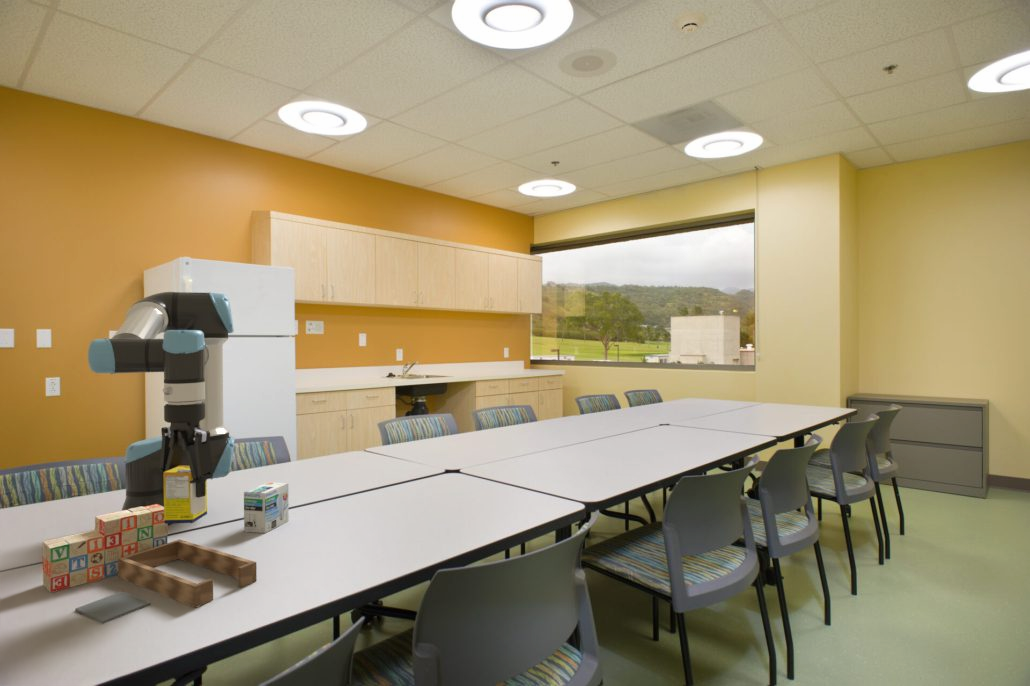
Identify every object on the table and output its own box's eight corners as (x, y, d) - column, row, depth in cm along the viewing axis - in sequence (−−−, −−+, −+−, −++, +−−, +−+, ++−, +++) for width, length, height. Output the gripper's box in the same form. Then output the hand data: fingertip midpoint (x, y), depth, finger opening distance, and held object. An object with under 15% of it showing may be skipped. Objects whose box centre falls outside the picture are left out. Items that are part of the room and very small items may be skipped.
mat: (75, 610, 104) (75, 608, 104) (122, 593, 111) (122, 591, 111) (102, 623, 99) (102, 621, 99) (149, 604, 106) (149, 602, 106)
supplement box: (207, 514, 120) (207, 464, 120) (192, 523, 114) (191, 471, 114) (180, 514, 120) (179, 464, 120) (163, 524, 114) (162, 471, 114)
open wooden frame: (118, 577, 118) (117, 558, 118) (179, 556, 130) (179, 539, 130) (195, 607, 105) (195, 586, 105) (256, 581, 116) (256, 562, 116)
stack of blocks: (49, 594, 111) (49, 533, 111) (42, 585, 115) (41, 526, 115) (168, 560, 128) (167, 507, 127) (158, 553, 131) (157, 502, 131)
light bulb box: (265, 534, 144) (264, 493, 144) (242, 532, 146) (242, 491, 145) (289, 520, 155) (289, 482, 155) (268, 519, 156) (268, 481, 156)
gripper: (139, 401, 118) (140, 506, 119) (196, 407, 108) (197, 522, 109) (174, 397, 125) (176, 496, 126) (231, 403, 115) (232, 511, 116)
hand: (186, 508), depth 117 cm, fingers closed on supplement box, 8 cm apart
